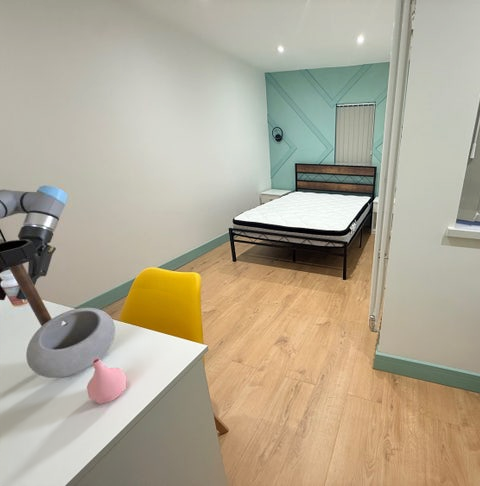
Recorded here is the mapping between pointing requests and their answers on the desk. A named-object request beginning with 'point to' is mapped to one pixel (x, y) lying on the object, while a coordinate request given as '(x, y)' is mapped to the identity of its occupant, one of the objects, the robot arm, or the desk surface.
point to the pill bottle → (12, 289)
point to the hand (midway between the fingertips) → (9, 299)
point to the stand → (30, 293)
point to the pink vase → (105, 383)
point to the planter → (70, 342)
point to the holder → (16, 252)
